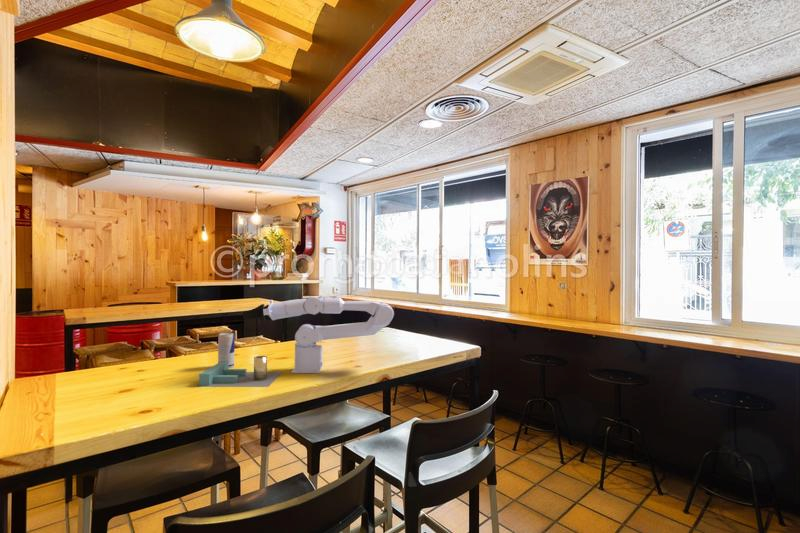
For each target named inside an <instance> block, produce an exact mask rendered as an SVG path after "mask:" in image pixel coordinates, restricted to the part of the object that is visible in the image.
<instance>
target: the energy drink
mask: <svg viewBox="0 0 800 533" xmlns="http://www.w3.org/2000/svg"><path fill="white" fill-rule="evenodd" d="M235 337H236V336H235V333H234V332H221V333H219V334H218V338H217V339H218V340H217V344H218V345H217V364H218V363H219V362H228V369H233V368H234V367H235V343H236V342H235V339H236V338H235Z"/></svg>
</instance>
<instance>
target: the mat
mask: <svg viewBox="0 0 800 533" xmlns="http://www.w3.org/2000/svg"><path fill="white" fill-rule="evenodd" d="M282 374H283V371H281V372H280V371H276V372H275V371H270V372H269V371H267V379H266V380H262V381H255V380H254V371H246V376H238V382H237V383H212V384H211V385H209V386H199V383H198V384H196V385H194V388H201V387H202V388H203V387H204V388H208V387H209V388H211V387H212V388H217V387H218V388H219V387H220V388H221V387H222V388H224V387H225V388H231V387H232V388H246V387H247V388H248V387H249V388H269V387H270V386H271V385H273V383H274V382H275V381H276V380H277V379H278V378H279V377H280V375H282Z"/></svg>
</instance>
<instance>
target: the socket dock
mask: <svg viewBox="0 0 800 533" xmlns="http://www.w3.org/2000/svg"><path fill="white" fill-rule="evenodd" d="M246 372H248V371H247V368H228V362H219V363H218V362H217V363H216V364H214V365H213V366H211V367H209V368H207V369H206V370H204V371H202V372H200V373H199V375H198V384H199V386H209V385H211V384H212V383H237V382H238V376H246Z"/></svg>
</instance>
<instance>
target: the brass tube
mask: <svg viewBox="0 0 800 533" xmlns="http://www.w3.org/2000/svg"><path fill="white" fill-rule="evenodd" d="M253 372H254V380H255V381H262V380H266V379H267V372H268V356H267V355H256V356H254V357H253Z"/></svg>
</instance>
